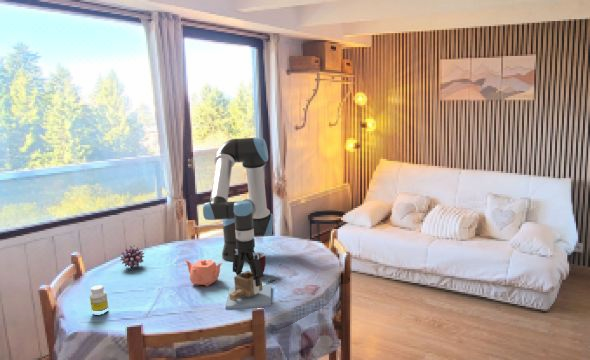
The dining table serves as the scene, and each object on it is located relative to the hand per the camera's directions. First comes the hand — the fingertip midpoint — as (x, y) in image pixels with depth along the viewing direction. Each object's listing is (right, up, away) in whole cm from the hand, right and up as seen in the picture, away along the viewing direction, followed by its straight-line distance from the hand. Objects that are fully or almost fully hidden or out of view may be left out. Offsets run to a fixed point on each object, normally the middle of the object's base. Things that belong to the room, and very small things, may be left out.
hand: (248, 290), depth 189 cm
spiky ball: (-64, +1, +43) cm, 77 cm away
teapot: (-23, -1, +18) cm, 29 cm away
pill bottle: (-60, -8, -6) cm, 60 cm away
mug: (+2, +1, +23) cm, 23 cm away
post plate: (0, -3, +1) cm, 3 cm away
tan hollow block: (-2, -1, -2) cm, 3 cm away
